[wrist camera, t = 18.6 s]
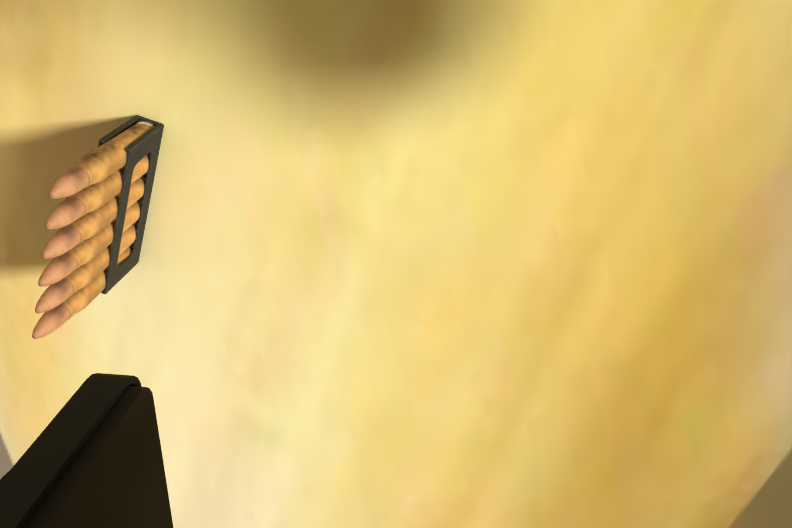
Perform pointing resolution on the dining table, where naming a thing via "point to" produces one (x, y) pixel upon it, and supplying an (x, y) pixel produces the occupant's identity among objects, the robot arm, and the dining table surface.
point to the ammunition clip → (98, 221)
